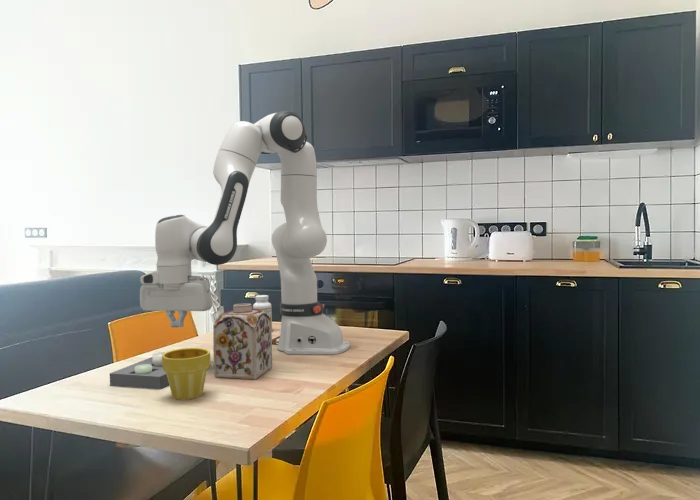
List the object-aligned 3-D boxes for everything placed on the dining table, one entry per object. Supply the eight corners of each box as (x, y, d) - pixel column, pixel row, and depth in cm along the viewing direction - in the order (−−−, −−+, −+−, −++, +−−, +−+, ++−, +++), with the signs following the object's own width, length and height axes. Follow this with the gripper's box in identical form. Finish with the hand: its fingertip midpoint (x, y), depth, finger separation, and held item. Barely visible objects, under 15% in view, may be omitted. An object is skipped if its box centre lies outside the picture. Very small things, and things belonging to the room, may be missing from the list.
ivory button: (172, 364, 141) (171, 352, 141) (163, 368, 137) (162, 356, 137) (159, 363, 142) (158, 352, 142) (149, 367, 138) (149, 355, 138)
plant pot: (197, 404, 117) (196, 359, 116) (154, 401, 119) (152, 357, 118) (218, 389, 127) (217, 348, 126) (178, 387, 129) (177, 346, 129)
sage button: (155, 376, 134) (155, 364, 134) (145, 381, 130) (145, 368, 130) (142, 375, 135) (141, 363, 135) (131, 380, 132) (131, 367, 131)
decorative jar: (256, 380, 134) (254, 308, 133) (212, 378, 137) (210, 307, 136) (273, 367, 145) (272, 301, 145) (233, 366, 148) (231, 300, 147)
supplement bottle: (254, 329, 199) (253, 294, 199) (272, 329, 200) (272, 294, 199) (252, 333, 193) (251, 297, 192) (271, 332, 193) (270, 296, 192)
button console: (207, 366, 148) (206, 355, 148) (160, 389, 128) (159, 376, 128) (162, 363, 152) (162, 353, 152) (110, 385, 132) (109, 373, 131)
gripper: (215, 274, 146) (217, 325, 146) (149, 274, 151) (152, 324, 152) (202, 277, 139) (205, 330, 140) (134, 277, 145) (137, 328, 146)
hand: (177, 327), depth 146 cm, fingers closed
